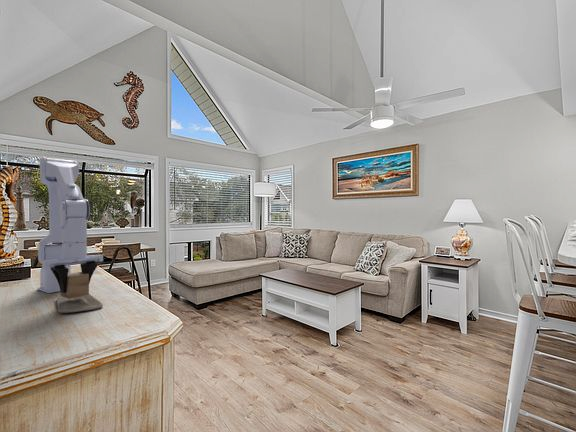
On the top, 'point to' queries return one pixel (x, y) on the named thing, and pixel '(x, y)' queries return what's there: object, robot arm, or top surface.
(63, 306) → the stone
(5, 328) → the top surface
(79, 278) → the walnut block
